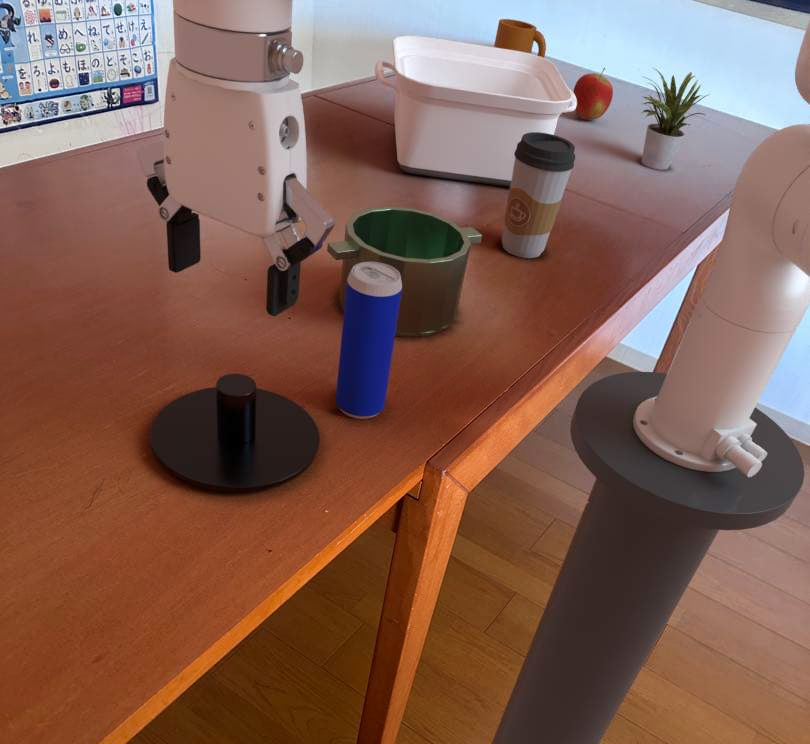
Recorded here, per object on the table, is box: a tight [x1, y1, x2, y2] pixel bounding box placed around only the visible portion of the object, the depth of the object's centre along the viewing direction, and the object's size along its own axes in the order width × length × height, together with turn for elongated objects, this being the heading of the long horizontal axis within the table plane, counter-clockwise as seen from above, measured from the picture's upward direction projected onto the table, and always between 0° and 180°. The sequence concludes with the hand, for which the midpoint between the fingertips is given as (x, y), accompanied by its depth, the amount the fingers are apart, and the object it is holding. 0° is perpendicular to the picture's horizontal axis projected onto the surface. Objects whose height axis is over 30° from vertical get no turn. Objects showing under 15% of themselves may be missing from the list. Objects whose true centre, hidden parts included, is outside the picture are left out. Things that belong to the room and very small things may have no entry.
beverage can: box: [335, 262, 402, 420], centre depth 80 cm, size 5×5×15 cm
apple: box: [572, 67, 614, 121], centre depth 168 cm, size 8×8×10 cm
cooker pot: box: [326, 206, 483, 338], centre depth 99 cm, size 15×20×10 cm
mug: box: [493, 18, 547, 58], centre depth 190 cm, size 9×12×9 cm
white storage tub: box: [374, 35, 577, 188], centre depth 139 cm, size 34×29×15 cm
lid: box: [149, 373, 320, 493], centre depth 76 cm, size 16×16×7 cm
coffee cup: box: [501, 132, 576, 259], centre depth 115 cm, size 8×8×15 cm
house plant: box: [641, 67, 709, 171], centre depth 152 cm, size 14×14×16 cm
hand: (232, 287), depth 66 cm, fingers open, 9 cm apart
